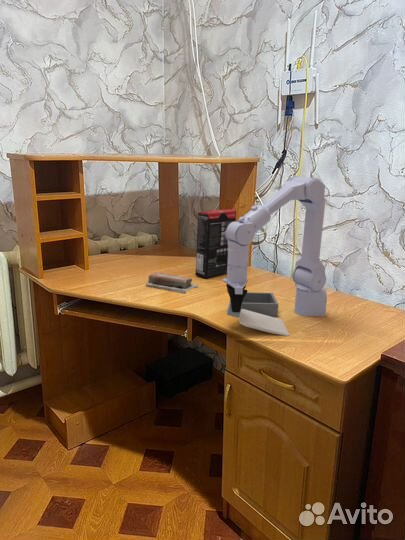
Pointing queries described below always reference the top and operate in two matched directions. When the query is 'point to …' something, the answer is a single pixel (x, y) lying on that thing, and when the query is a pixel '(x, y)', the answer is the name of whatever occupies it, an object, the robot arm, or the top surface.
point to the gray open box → (261, 303)
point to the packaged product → (170, 282)
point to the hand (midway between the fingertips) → (235, 310)
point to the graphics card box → (213, 242)
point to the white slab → (259, 321)
